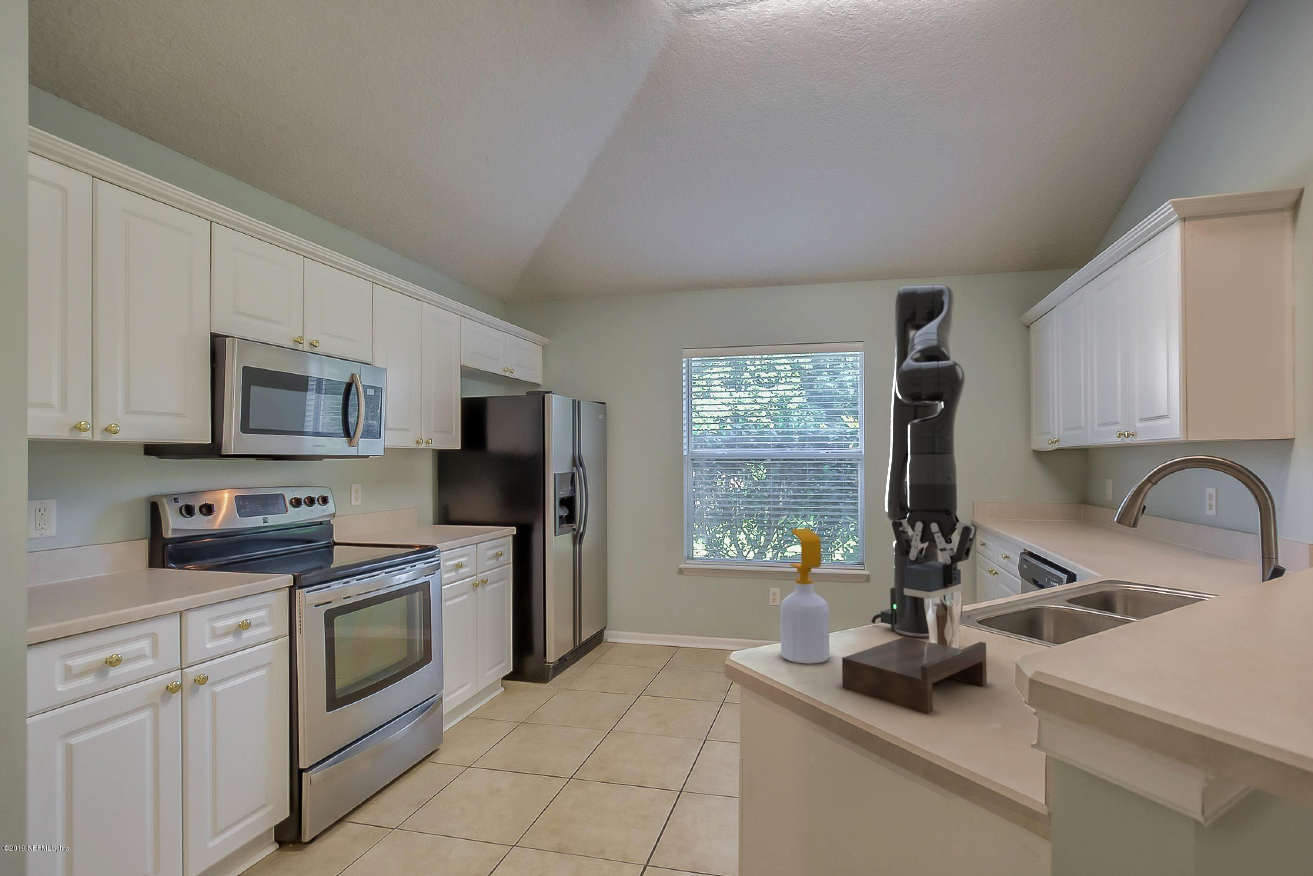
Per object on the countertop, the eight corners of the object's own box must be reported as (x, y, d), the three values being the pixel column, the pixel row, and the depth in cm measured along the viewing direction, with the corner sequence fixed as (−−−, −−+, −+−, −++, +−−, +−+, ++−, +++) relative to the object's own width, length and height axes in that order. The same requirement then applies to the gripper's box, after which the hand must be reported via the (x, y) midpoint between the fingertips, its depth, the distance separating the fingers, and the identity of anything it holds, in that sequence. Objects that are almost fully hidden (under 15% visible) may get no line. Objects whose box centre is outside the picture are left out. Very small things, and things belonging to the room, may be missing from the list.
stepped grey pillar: (930, 599, 104) (929, 570, 104) (903, 594, 107) (903, 566, 107) (962, 589, 111) (962, 563, 111) (936, 586, 114) (936, 559, 115)
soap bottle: (812, 648, 133) (811, 526, 134) (838, 661, 125) (837, 531, 125) (772, 653, 130) (771, 528, 131) (796, 666, 122) (795, 533, 123)
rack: (842, 687, 111) (841, 645, 111) (904, 663, 124) (904, 625, 124) (927, 714, 99) (927, 667, 99) (986, 684, 112) (986, 642, 112)
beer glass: (944, 663, 123) (943, 582, 124) (916, 653, 130) (915, 576, 130) (971, 658, 126) (970, 579, 127) (942, 649, 133) (941, 573, 133)
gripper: (985, 481, 107) (987, 588, 106) (903, 479, 118) (905, 576, 117) (964, 482, 102) (966, 594, 101) (880, 480, 113) (882, 581, 112)
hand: (933, 584), depth 109 cm, fingers closed on stepped grey pillar, 4 cm apart
